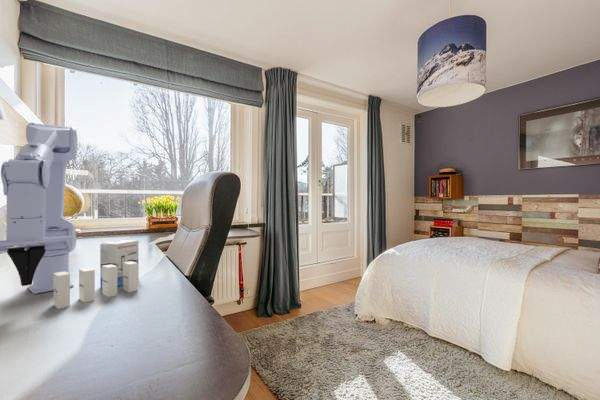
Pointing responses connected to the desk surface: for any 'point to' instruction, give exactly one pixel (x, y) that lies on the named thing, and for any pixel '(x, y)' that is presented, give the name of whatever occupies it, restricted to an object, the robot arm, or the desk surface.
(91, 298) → the domino
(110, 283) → the domino
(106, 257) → the ink box
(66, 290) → the domino
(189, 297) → the desk surface
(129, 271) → the domino
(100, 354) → the desk surface
